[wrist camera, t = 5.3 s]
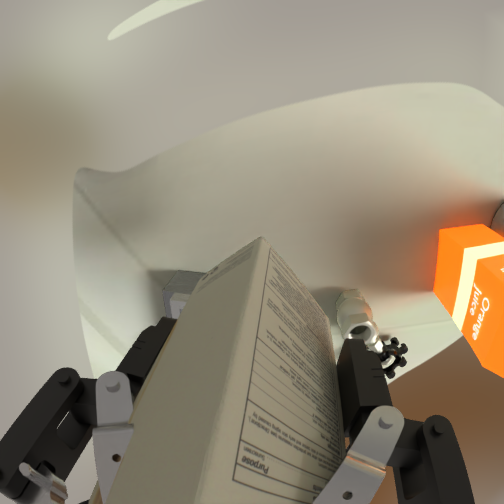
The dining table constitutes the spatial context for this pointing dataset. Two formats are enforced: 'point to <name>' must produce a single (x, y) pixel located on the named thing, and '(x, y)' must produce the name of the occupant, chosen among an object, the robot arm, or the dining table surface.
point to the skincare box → (237, 395)
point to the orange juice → (474, 288)
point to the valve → (367, 329)
